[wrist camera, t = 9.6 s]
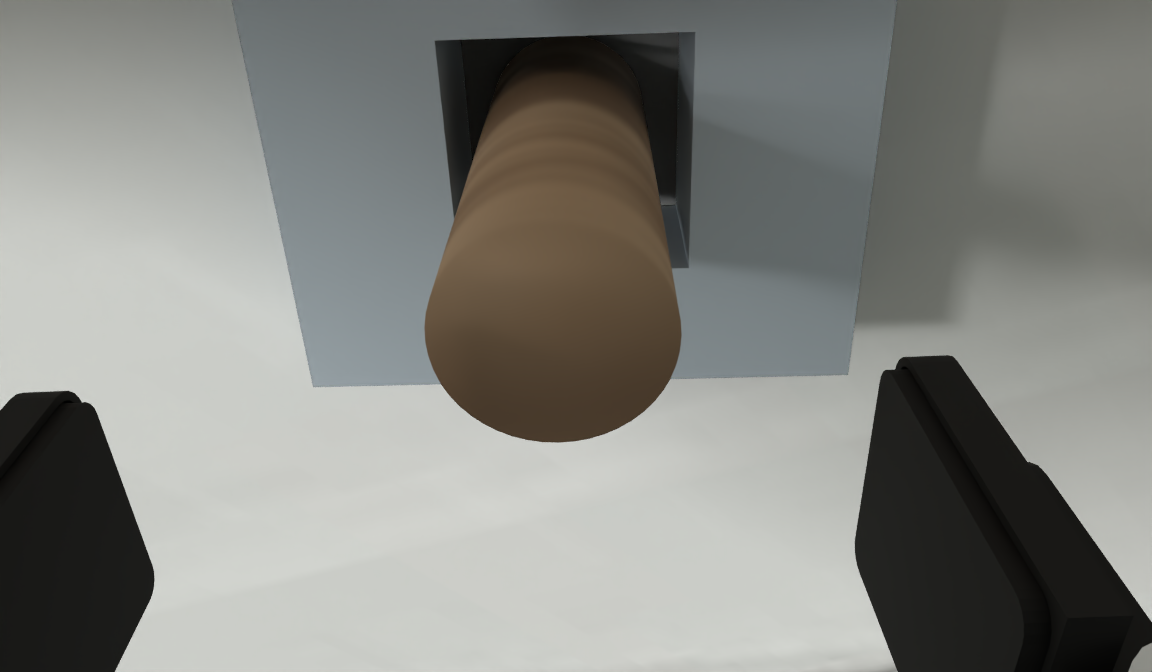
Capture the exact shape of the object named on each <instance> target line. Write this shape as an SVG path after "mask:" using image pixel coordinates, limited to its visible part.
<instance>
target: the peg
mask: <svg viewBox="0 0 1152 672" xmlns="http://www.w3.org/2000/svg"><path fill="white" fill-rule="evenodd" d="M424 330H425V343H426V348H427V353H428V357H429V360H430V362H431V365H432V368H433V370H434V372H435V374H436V376H437V378H438V380H439V382H440V383H441V385H442V386H443V387H444V389H445V390H446V392H447V393H448V394H449V395H450V397H451V398H452V399H453V400H454V401H455V402H456V403H457V404H458V405H459V406H460V407H461V408H462V409H464V410H465V411H466V412H467V413H468V414H470V415H471V416H472V417H474V418H476V419H477V420H479V421H480V422H482V423H483V424H485V425H487V426H489V427H491V428H493V429H495V430H497V431H500V432H503V433H505V434H508V435H511V436H514V437H518V438H522V439H526V440H532V441H540V442H571V441H579V440H584V439H590V438H593V437H596V436H600V435H603V434H606V433H608V432H610V431H613V430H615V429H617V428H619V427H621V426H623V425H625V424H626V423H628V422H630V421H632V420H633V419H634V418H636V417H637V416H638V415H640V414H641V413H643V412H644V411H645V410H646V409H647V408H648V407H649V406H650V405H651V404H652V403H653V402H654V401H655V400H656V399H657V398H658V396H659V395H660V394H661V393H662V391H663V390H664V388H665V387H666V385H667V383H668V382H669V380H670V378H671V376H672V374H673V372H674V369H675V367H676V364H677V361H678V357H679V353H680V347H681V337H682V333H681V319H680V313H679V307H678V302H677V296H676V290H675V284H674V279H673V273H672V267H671V262H670V256H669V250H668V244H667V239H666V233H665V227H664V221H663V216H662V210H661V204H660V198H659V193H658V187H657V181H656V176H655V170H654V164H653V158H652V153H651V147H650V141H649V135H648V130H647V124H646V118H645V112H644V107H643V101H642V96H641V91H640V88H639V85H638V82H637V79H636V77H635V75H634V73H633V72H632V70H631V69H630V67H629V66H628V64H627V63H626V62H625V61H624V60H623V59H622V57H621V56H620V55H618V54H617V53H616V52H615V51H614V50H613V49H611V48H609V47H608V46H606V45H605V44H603V43H601V42H599V41H596V40H594V39H591V38H588V37H584V36H557V37H547V38H544V39H541V40H538V41H536V42H534V43H532V44H530V45H528V46H527V47H525V48H524V49H523V50H521V51H520V52H519V53H518V54H517V55H515V56H514V57H513V58H512V59H511V61H510V62H509V63H508V65H507V66H506V67H505V69H504V70H503V72H502V74H501V76H500V78H499V80H498V83H497V85H496V89H495V92H494V95H493V98H492V101H491V104H490V108H489V111H488V114H487V117H486V120H485V123H484V127H483V130H482V133H481V136H480V139H479V142H478V146H477V149H476V152H475V155H474V158H473V162H472V165H471V168H470V171H469V174H468V177H467V181H466V184H465V187H464V190H463V193H462V196H461V200H460V203H459V206H458V209H457V212H456V215H455V219H454V222H453V225H452V228H451V231H450V234H449V238H448V241H447V244H446V247H445V250H444V254H443V257H442V260H441V263H440V266H439V269H438V273H437V276H436V279H435V282H434V285H433V288H432V292H431V295H430V298H429V302H428V306H427V310H426V315H425V326H424Z"/></svg>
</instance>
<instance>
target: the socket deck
mask: <svg viewBox="0 0 1152 672" xmlns="http://www.w3.org/2000/svg"><path fill="white" fill-rule="evenodd" d="M232 4H233V9H234V14H235V19H236V23H237V28H238V33H239V38H240V42H241V47H242V52H243V56H244V61H245V66H246V71H247V75H248V80H249V85H250V90H251V94H252V99H253V104H254V109H255V113H256V118H257V123H258V128H259V132H260V137H261V142H262V147H263V151H264V156H265V161H266V166H267V170H268V175H269V180H270V185H271V189H272V194H273V199H274V204H275V208H276V213H277V218H278V222H279V227H280V232H281V237H282V241H283V246H284V251H285V256H286V260H287V265H288V270H289V275H290V279H291V284H292V289H293V294H294V298H295V303H296V308H297V313H298V317H299V322H300V327H301V332H302V336H303V341H304V346H305V351H306V355H307V360H308V365H309V370H310V374H311V379H312V384H313V387H341V386H384V385H428V384H441V383H440V382H439V380H438V378H437V376H436V374H435V372H434V370H433V368H432V365H431V362H430V360H429V357H428V353H427V348H426V343H425V330H424V326H425V315H426V310H427V306H428V302H429V298H430V295H431V292H432V288H433V285H434V282H435V279H436V276H437V273H438V269H439V266H440V263H441V260H442V257H443V254H444V250H445V247H446V244H447V241H448V238H449V234H450V231H451V228H452V225H453V222H454V219H455V215H456V212H457V209H458V206H459V203H460V200H461V196H462V193H463V190H464V187H465V184H466V181H467V177H468V174H469V171H470V168H471V165H472V154H471V144H470V133H469V123H468V112H467V102H466V91H465V81H464V70H463V60H462V49H461V40H467V39H497V38H527V37H557V36H587V35H617V34H647V33H677V32H679V62H678V113H677V164H676V205H673V206H661V210H662V216H663V221H664V227H665V233H666V239H667V244H668V250H669V256H670V262H671V267H672V273H673V279H674V284H675V290H676V296H677V302H678V307H679V313H680V319H681V333H682V337H681V347H680V353H679V357H678V361H677V364H676V367H675V369H674V372H673V374H672V376H671V378H670V379H690V378H733V377H777V376H820V375H848V371H849V363H850V355H851V348H852V340H853V333H854V325H855V317H856V310H857V302H858V295H859V287H860V279H861V272H862V264H863V257H864V249H865V242H866V234H867V226H868V219H869V211H870V204H871V196H872V188H873V181H874V173H875V166H876V158H877V150H878V143H879V135H880V128H881V120H882V112H883V105H884V97H885V90H886V82H887V74H888V67H889V59H890V52H891V44H892V37H893V29H894V21H895V14H896V6H897V0H232Z"/></svg>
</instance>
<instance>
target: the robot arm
mask: <svg viewBox="0 0 1152 672" xmlns="http://www.w3.org/2000/svg"><path fill="white" fill-rule="evenodd" d="M855 555H856V561H857V566H858V569H859V572H860V575H861V578H862V580H863V583H864V585H865V588H866V591H867V593H868V596H869V598H870V601H871V603H872V606H873V609H874V611H875V614H876V616H877V619H878V622H879V624H880V627H881V629H882V632H883V635H884V637H885V640H886V642H887V645H888V648H889V650H890V653H891V655H892V658H893V660H894V663H895V666H896V668H897V671H898V672H1152V622H1151V621H1150V619H1149V618H1148V617H1147V615H1146V614H1145V612H1144V611H1143V609H1142V608H1141V607H1140V605H1139V604H1138V602H1137V601H1136V600H1135V598H1134V597H1133V595H1132V594H1131V593H1130V591H1129V590H1128V588H1127V587H1126V586H1125V584H1124V583H1123V581H1122V580H1121V579H1120V577H1119V576H1118V574H1117V573H1116V571H1115V570H1114V569H1113V567H1112V566H1111V564H1110V563H1109V562H1108V560H1107V559H1106V557H1105V556H1104V555H1103V553H1102V552H1101V550H1100V549H1099V548H1098V546H1097V545H1096V543H1095V542H1094V541H1093V539H1092V538H1091V536H1090V535H1089V533H1088V532H1087V531H1086V529H1085V528H1084V526H1083V525H1082V524H1081V522H1080V521H1079V519H1078V518H1077V517H1076V515H1075V514H1074V512H1073V511H1072V510H1071V508H1070V507H1069V505H1068V504H1067V502H1066V501H1065V500H1064V498H1063V497H1062V495H1061V494H1060V493H1059V491H1058V490H1057V488H1056V487H1055V486H1054V484H1053V483H1052V481H1051V480H1050V479H1049V477H1048V476H1047V474H1046V473H1045V472H1044V471H1043V470H1042V469H1041V468H1040V467H1039V466H1038V465H1035V464H1033V463H1030V462H1027V461H1026V459H1025V458H1024V457H1023V455H1022V454H1021V452H1020V451H1019V449H1018V448H1017V446H1016V445H1015V444H1014V442H1013V441H1012V439H1011V438H1010V436H1009V435H1008V434H1007V432H1006V431H1005V429H1004V428H1003V426H1002V425H1001V423H1000V422H999V421H998V419H997V418H996V416H995V415H994V413H993V412H992V411H991V409H990V408H989V406H988V405H987V403H986V402H985V400H984V399H983V398H982V396H981V395H980V393H979V392H978V390H977V389H976V387H975V386H974V385H973V383H972V382H971V380H970V379H969V377H968V376H967V375H966V373H965V372H964V370H963V369H962V367H961V366H960V364H959V363H958V362H957V360H956V359H955V358H954V357H953V356H948V355H946V356H921V357H903V358H901V359H900V360H899V361H898V363H897V365H896V369H895V370H885V371H884V372H883V374H882V376H881V379H880V384H879V391H878V397H877V404H876V410H875V416H874V423H873V429H872V435H871V442H870V448H869V454H868V461H867V467H866V473H865V480H864V486H863V492H862V499H861V505H860V511H859V518H858V524H857V531H856V537H855ZM153 588H154V570H153V566H152V563H151V561H150V558H149V555H148V552H147V550H146V547H145V544H144V541H143V539H142V536H141V533H140V530H139V528H138V525H137V522H136V519H135V517H134V514H133V511H132V508H131V506H130V503H129V500H128V497H127V495H126V492H125V489H124V486H123V484H122V481H121V478H120V475H119V473H118V470H117V467H116V464H115V462H114V459H113V456H112V453H111V451H110V448H109V445H108V442H107V440H106V437H105V434H104V431H103V429H102V426H101V423H100V420H99V418H98V415H97V413H96V411H95V409H94V407H93V406H92V405H91V404H89V403H86V402H83V403H82V402H81V400H80V398H79V397H78V396H77V395H76V394H75V393H73V392H70V391H55V392H30V393H20V394H16V395H15V396H14V397H13V398H11V399H10V400H9V401H8V402H7V404H6V405H5V406H4V407H3V408H2V409H1V410H0V672H115V670H116V668H117V666H118V664H119V662H120V660H121V658H122V656H123V654H124V652H125V650H126V648H127V646H128V644H129V642H130V640H131V638H132V635H133V633H134V631H135V629H136V627H137V625H138V623H139V621H140V619H141V617H142V615H143V613H144V611H145V609H146V607H147V605H148V603H149V601H150V599H151V596H152V593H153Z"/></svg>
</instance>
